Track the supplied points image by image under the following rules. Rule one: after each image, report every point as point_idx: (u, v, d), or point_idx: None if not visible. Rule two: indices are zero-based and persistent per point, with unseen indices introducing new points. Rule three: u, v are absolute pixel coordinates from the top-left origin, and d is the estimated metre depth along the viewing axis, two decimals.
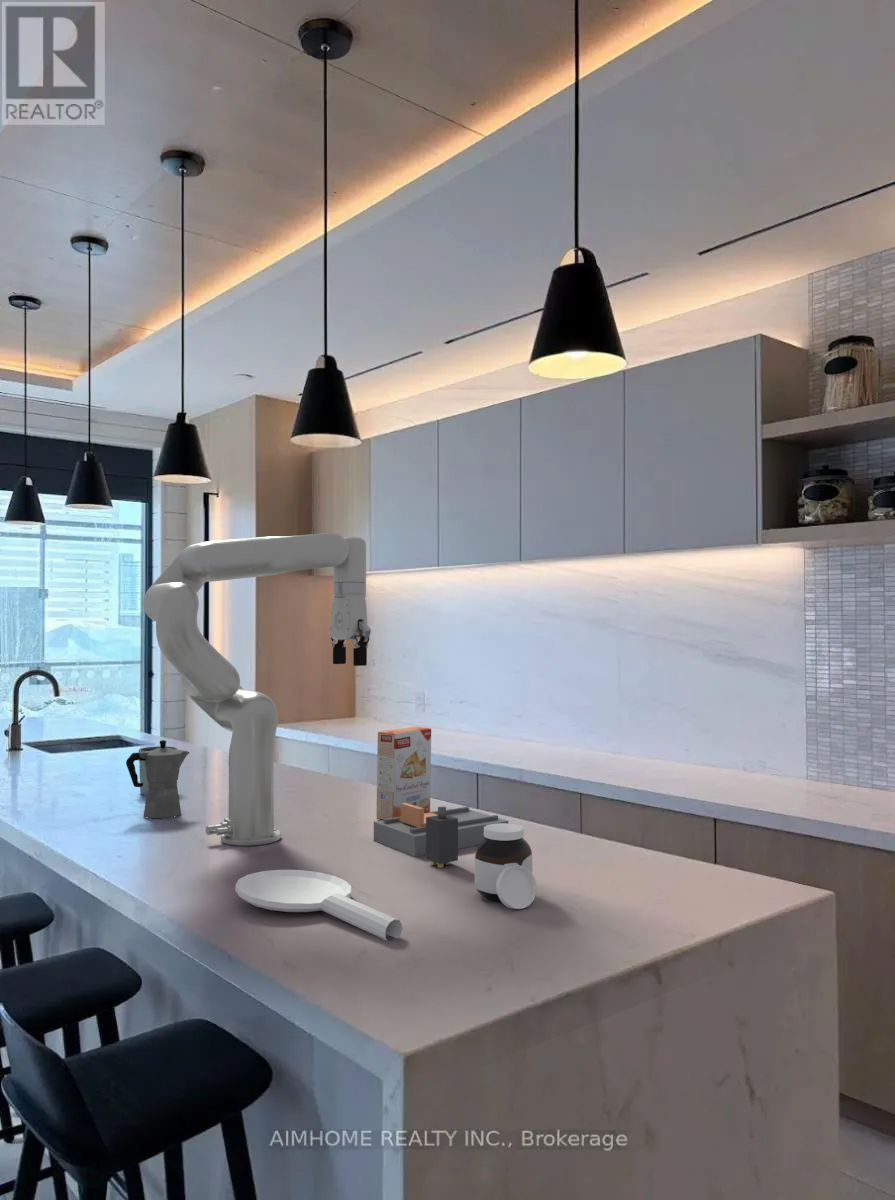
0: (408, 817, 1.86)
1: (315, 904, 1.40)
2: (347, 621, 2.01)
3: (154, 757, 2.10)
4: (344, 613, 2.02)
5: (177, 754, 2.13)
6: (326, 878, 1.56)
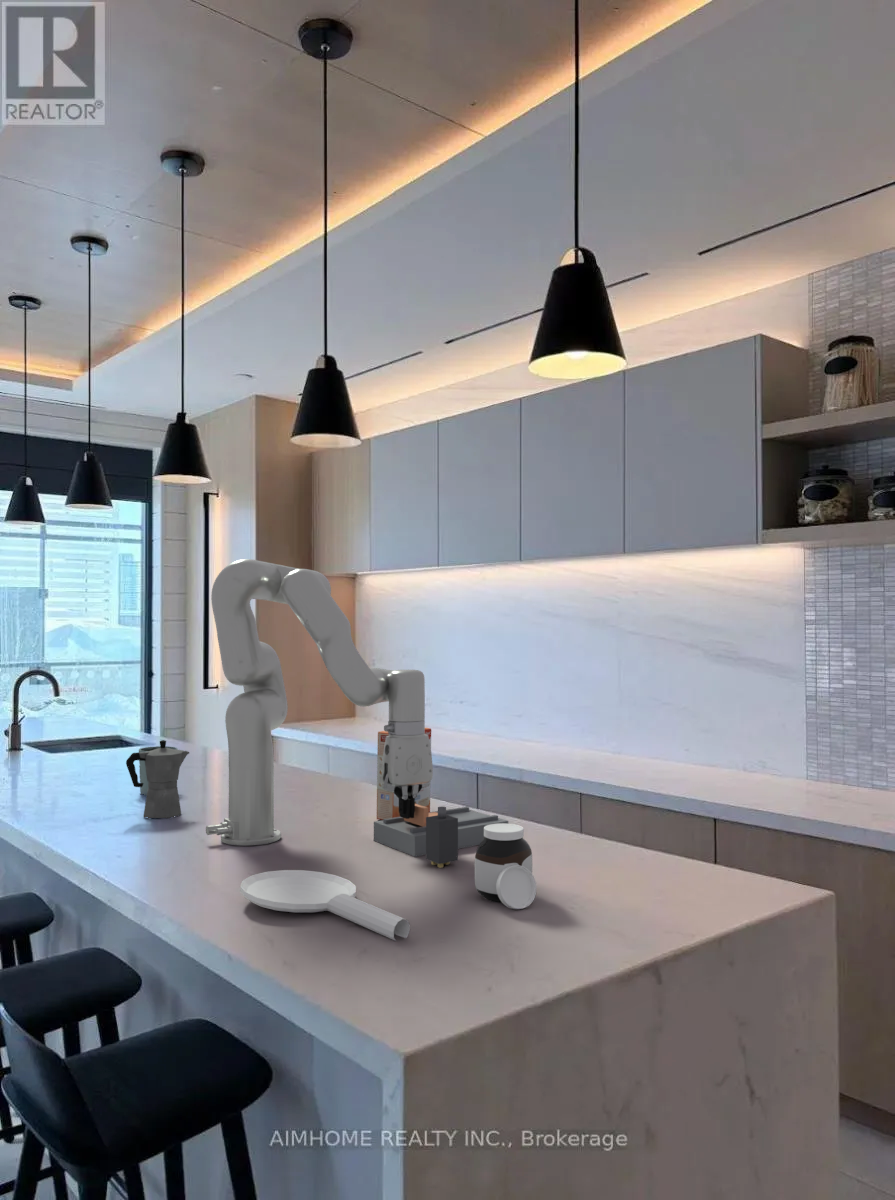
0: None
1: (321, 904, 1.40)
2: (428, 763, 1.85)
3: (154, 757, 2.10)
4: (424, 754, 1.85)
5: (177, 754, 2.13)
6: (330, 878, 1.56)
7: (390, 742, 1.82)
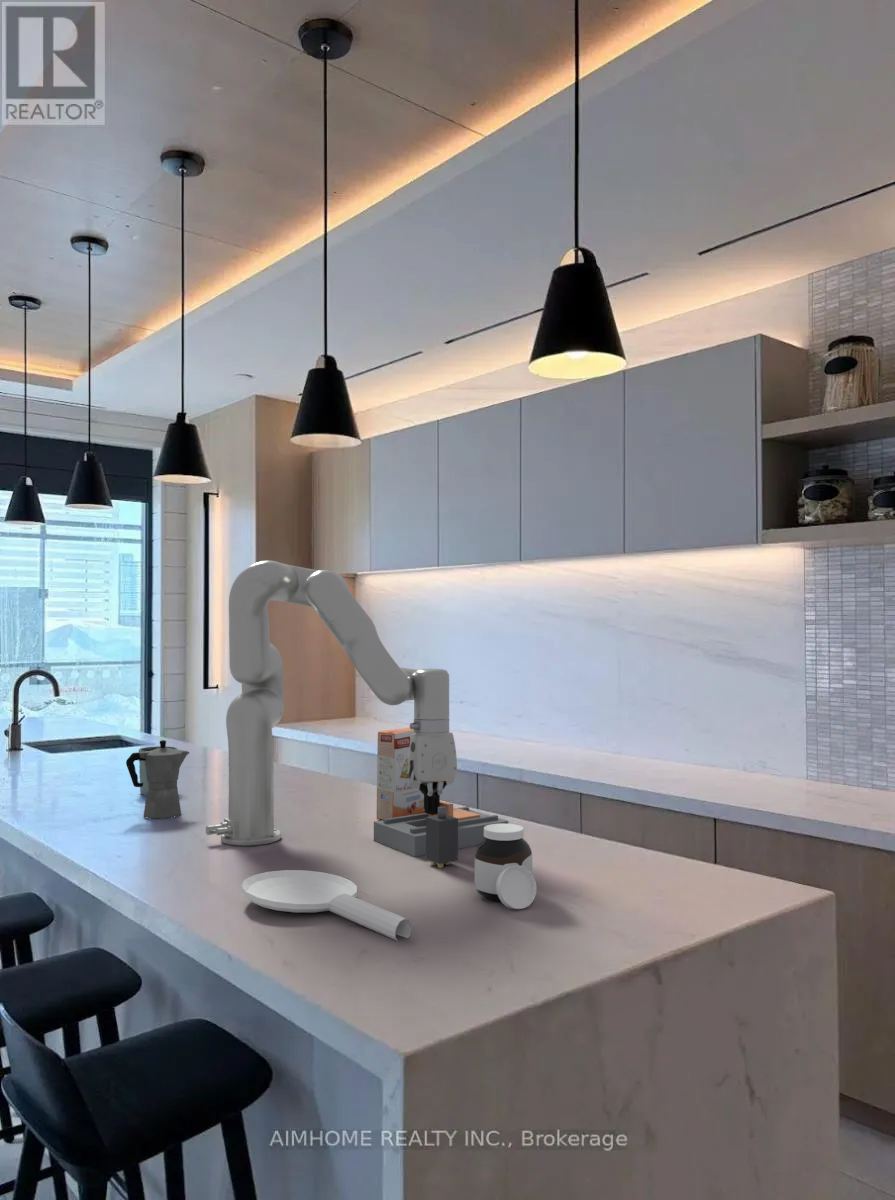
0: None
1: (323, 904, 1.40)
2: (453, 760, 1.89)
3: (154, 757, 2.10)
4: (448, 752, 1.88)
5: (177, 754, 2.13)
6: (331, 879, 1.56)
7: (416, 740, 1.86)
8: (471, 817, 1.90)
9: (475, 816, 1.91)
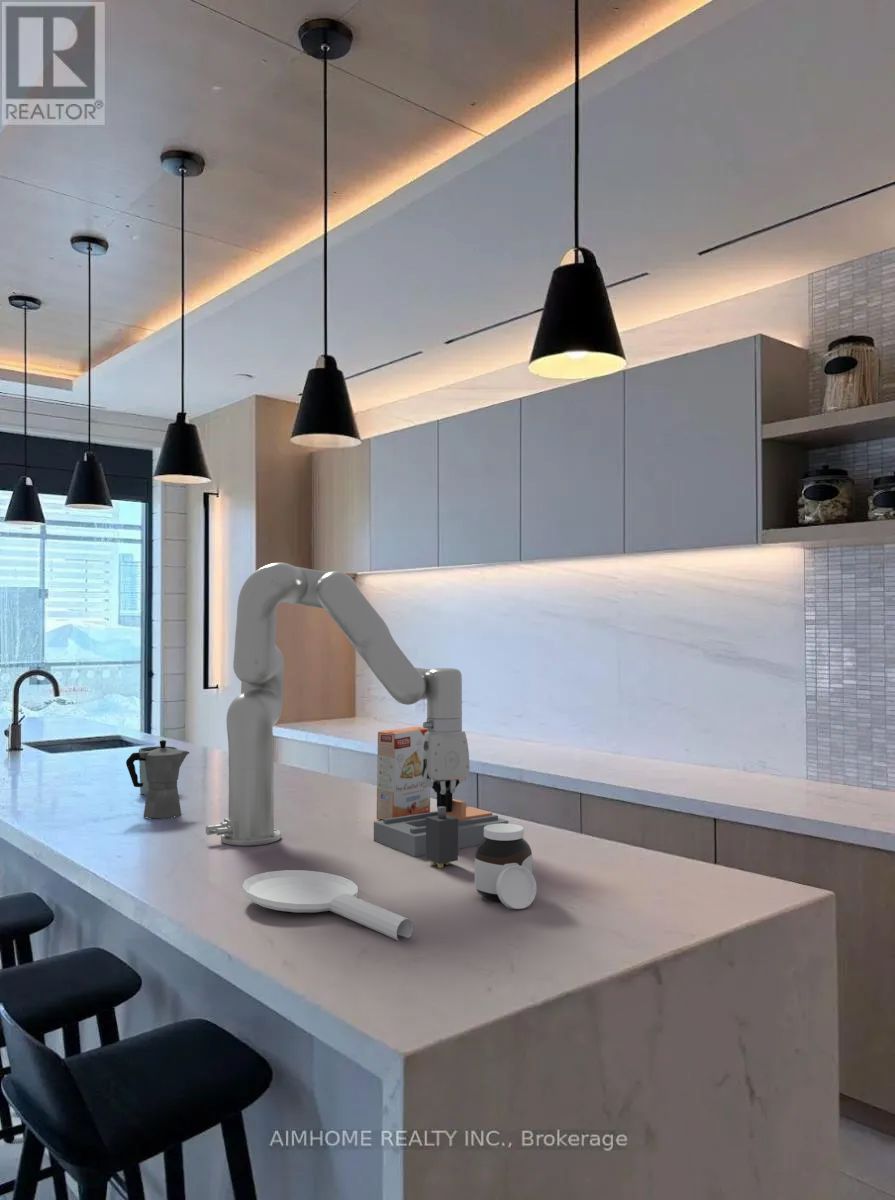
0: None
1: (324, 904, 1.40)
2: (465, 758, 1.91)
3: (154, 757, 2.10)
4: (461, 751, 1.90)
5: (177, 754, 2.13)
6: (332, 878, 1.56)
7: (429, 738, 1.88)
8: (483, 815, 1.92)
9: (487, 814, 1.92)
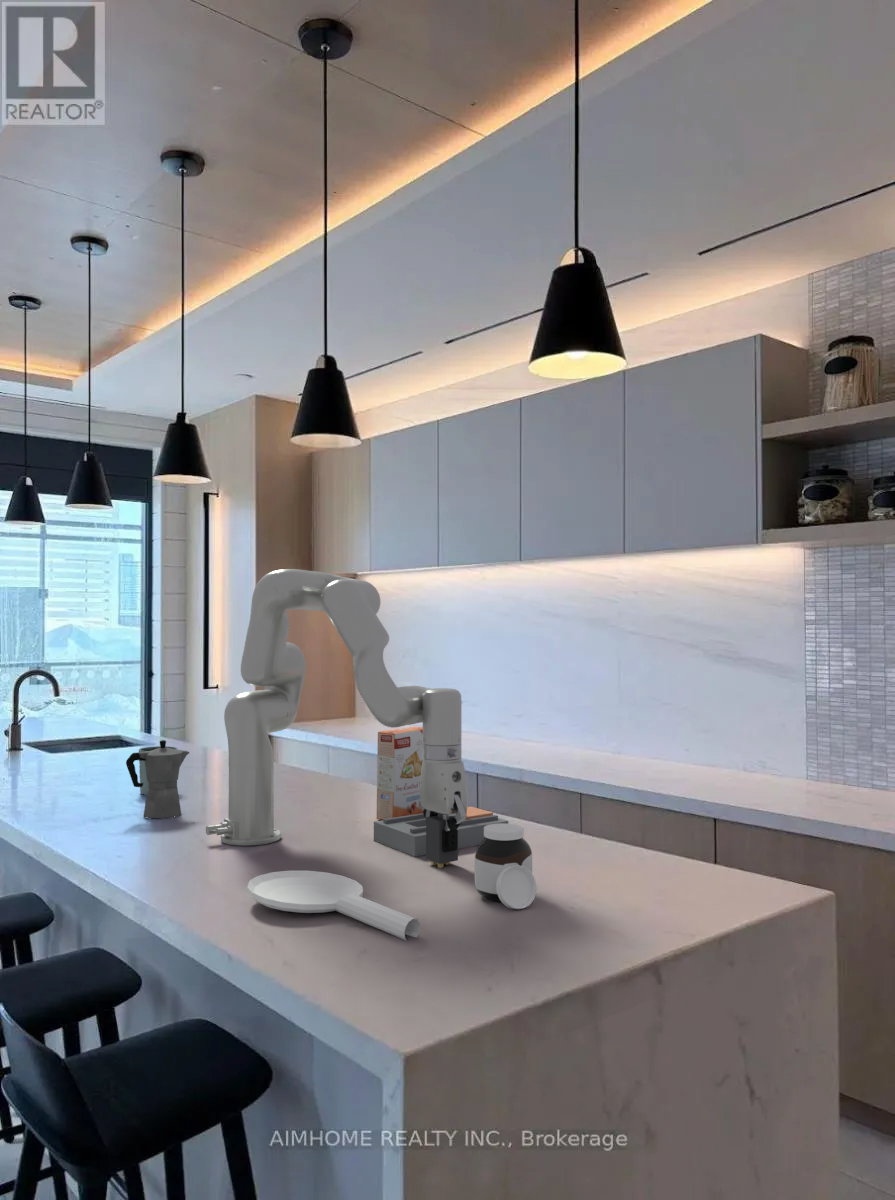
0: None
1: (330, 904, 1.40)
2: None
3: (154, 757, 2.10)
4: None
5: (177, 754, 2.13)
6: (336, 879, 1.56)
7: (460, 767, 1.68)
8: (484, 815, 1.92)
9: (488, 814, 1.93)
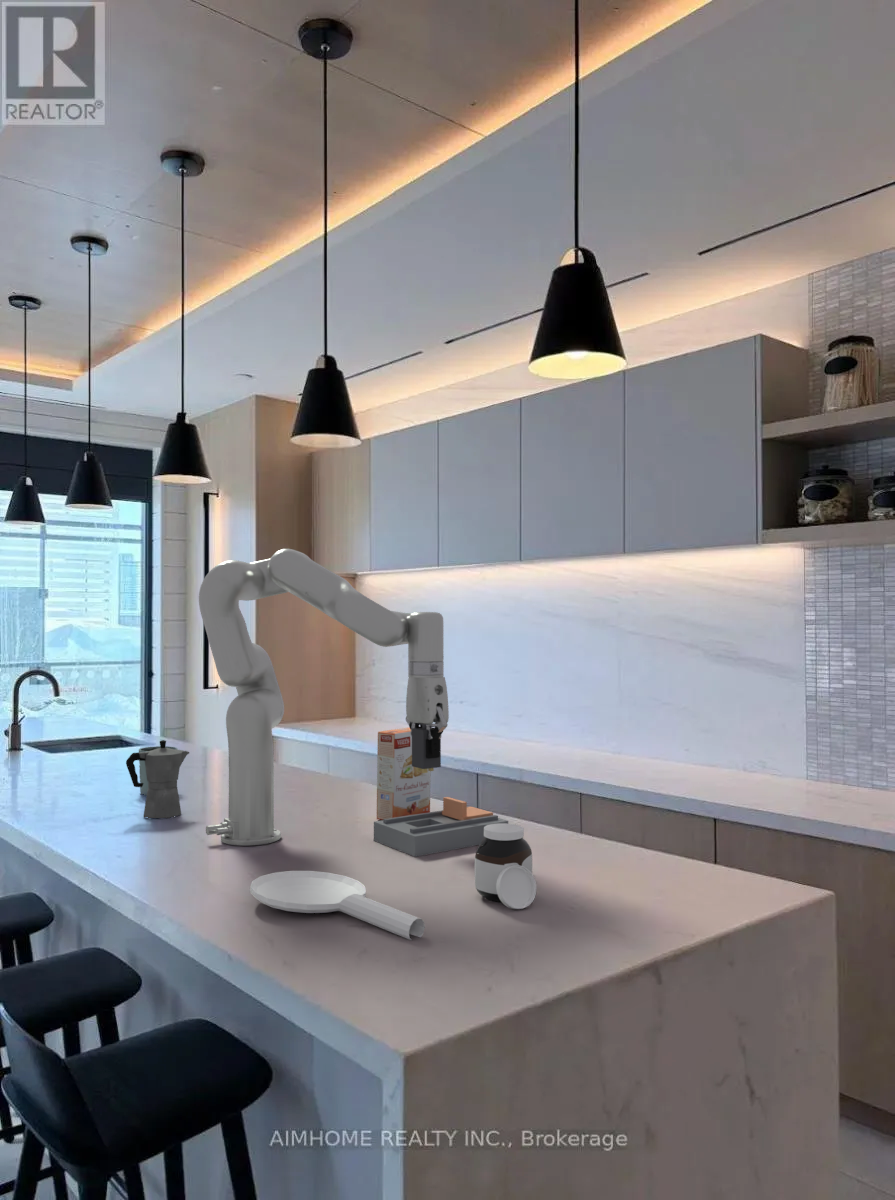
0: (450, 811, 1.92)
1: (333, 904, 1.40)
2: None
3: (154, 757, 2.10)
4: None
5: (177, 754, 2.13)
6: (338, 879, 1.56)
7: (442, 682, 1.85)
8: (484, 815, 1.92)
9: (488, 814, 1.93)
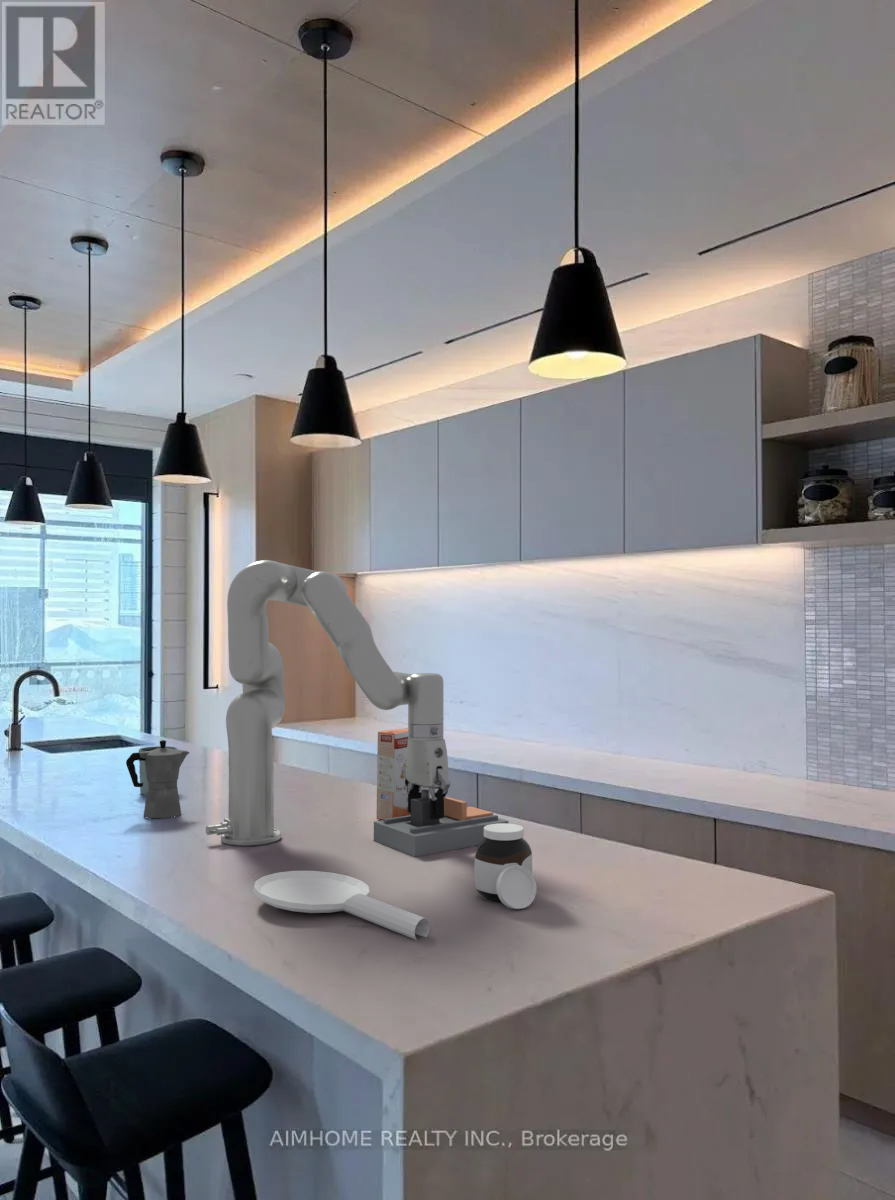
0: (450, 811, 1.92)
1: (338, 904, 1.40)
2: None
3: (154, 757, 2.10)
4: None
5: (177, 754, 2.13)
6: (341, 879, 1.56)
7: (442, 744, 1.85)
8: (484, 815, 1.92)
9: (488, 814, 1.93)
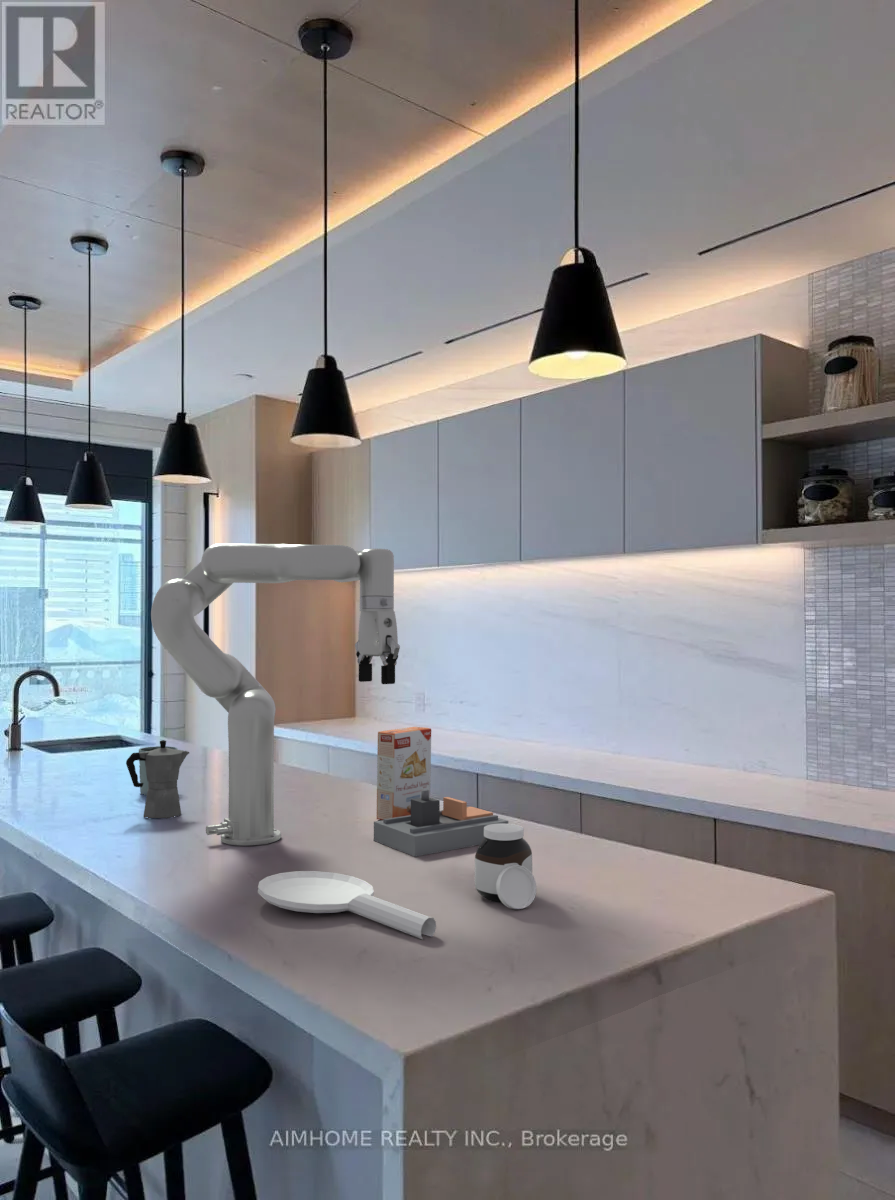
0: (450, 811, 1.92)
1: (343, 904, 1.40)
2: None
3: (154, 757, 2.10)
4: None
5: (177, 754, 2.13)
6: (344, 879, 1.56)
7: (391, 615, 1.93)
8: (484, 815, 1.92)
9: (488, 814, 1.93)
